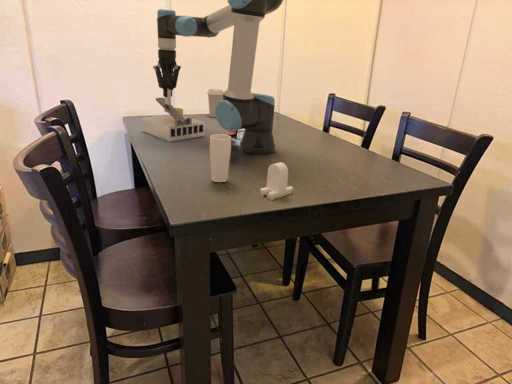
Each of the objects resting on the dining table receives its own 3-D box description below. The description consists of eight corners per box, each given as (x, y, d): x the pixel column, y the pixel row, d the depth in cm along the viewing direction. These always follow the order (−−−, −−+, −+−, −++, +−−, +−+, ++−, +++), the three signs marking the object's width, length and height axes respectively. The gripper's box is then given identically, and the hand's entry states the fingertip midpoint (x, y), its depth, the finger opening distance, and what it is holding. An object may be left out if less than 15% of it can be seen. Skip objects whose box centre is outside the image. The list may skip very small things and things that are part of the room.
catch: (183, 115, 187) (183, 109, 185) (168, 117, 181) (168, 110, 180) (178, 114, 189) (178, 107, 188) (164, 116, 184) (164, 109, 183)
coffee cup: (209, 114, 227) (209, 88, 221) (225, 115, 226) (225, 89, 220) (205, 117, 218) (205, 90, 212) (221, 118, 217) (222, 91, 211)
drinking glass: (231, 184, 125) (233, 139, 119) (211, 185, 123) (211, 139, 117) (227, 176, 131) (228, 133, 125) (207, 177, 129) (208, 133, 123)
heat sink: (204, 136, 179) (204, 116, 176) (169, 141, 167) (168, 121, 163) (177, 126, 193) (176, 108, 190) (143, 131, 181) (142, 112, 177)
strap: (187, 124, 171) (188, 121, 170) (180, 125, 168) (180, 122, 167) (162, 100, 181) (163, 96, 179) (155, 100, 178) (156, 97, 177)
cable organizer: (259, 194, 118) (261, 163, 114) (281, 188, 124) (283, 158, 120) (271, 200, 114) (273, 168, 110) (293, 193, 121) (296, 162, 117)
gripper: (174, 48, 172) (175, 101, 182) (148, 47, 164) (150, 103, 173) (184, 50, 168) (184, 104, 177) (158, 49, 159) (159, 106, 168)
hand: (167, 104), depth 175 cm, fingers closed
